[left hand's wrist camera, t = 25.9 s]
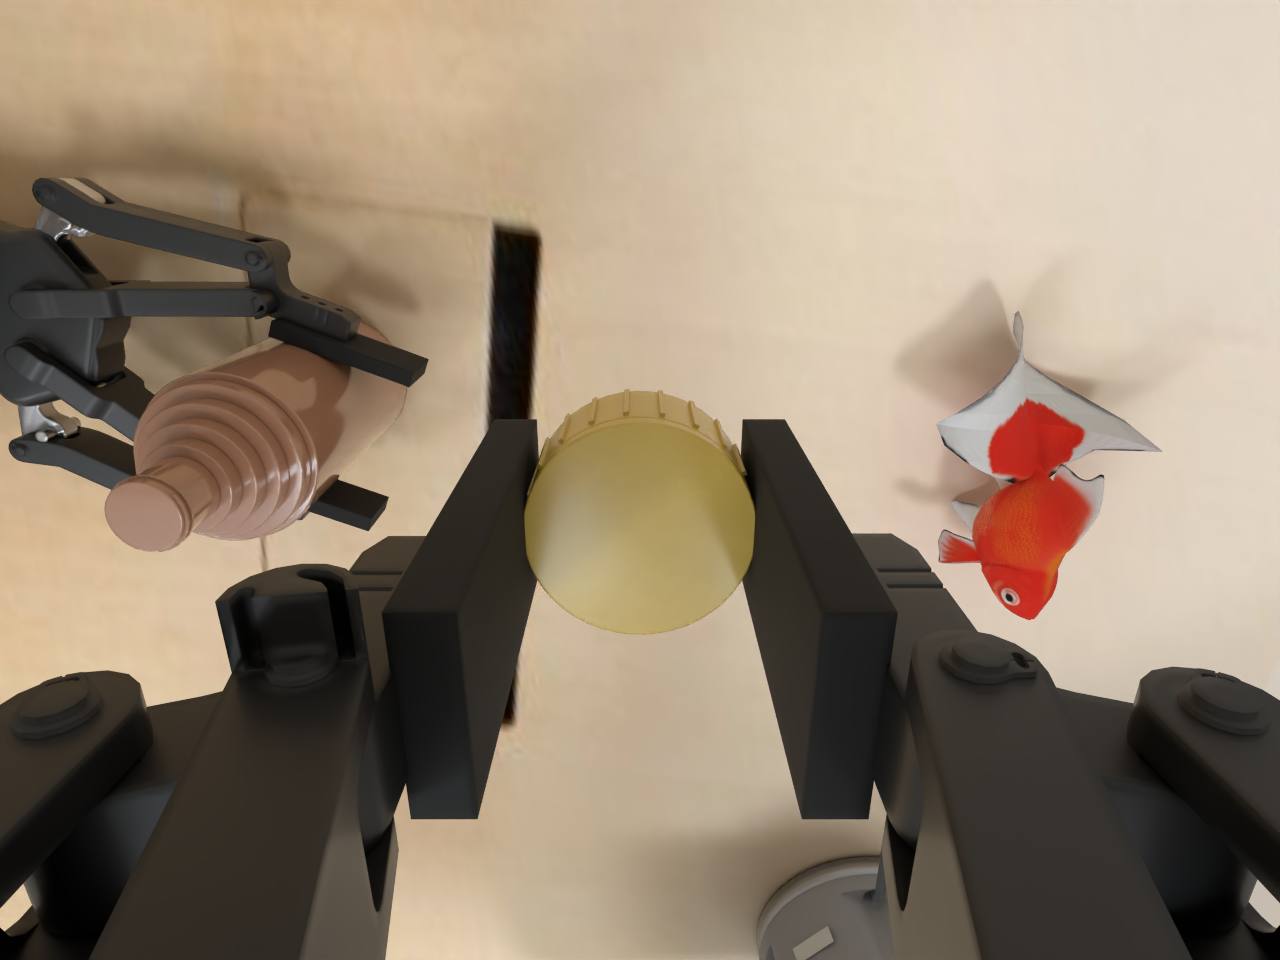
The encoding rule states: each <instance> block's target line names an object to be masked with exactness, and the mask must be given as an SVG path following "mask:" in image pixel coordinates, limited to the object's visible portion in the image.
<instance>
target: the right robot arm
mask: <svg viewBox="0 0 1280 960" xmlns="http://www.w3.org/2000/svg"><path fill="white" fill-rule="evenodd" d="M32 191H33V195H34V197H35V199H36V200H37V202H38V203H40V204H41V205H42V208H41V210H40V213H39V216H38V219H37V221H36V224H35V227H34V228H33V229H30V228H26V229H25V228H20V227H17V226H15V225H13V224H11V223H8V222H5V221H2V220H0V394H1V395H2V396H3V397H4V398H5V399H7V400H8V401H10V402H11V403H13V404H16V405H18V411H19V417H20V424H21V430H22V436H20V437H18V438H16V439H14V440H12V441H11V442H10V443H9V451H10V453H11V455H12V456H13V457H14V458H15V459H17V460H18V461H22V462H27V463H35V464H42V465H50V466H57V467H61V468H63V469H66V470H68V471H70V472H72V473H75V474H77V475H79V476H82V477H84V478H86V479H88V480H91V481H93V482H95V483H97V484H100V485H102V486H104V487H107V488H109V489H111V490H112V489H113V488H114V487H115V485H116V484H117V483H118V482H120V481H122V480H124V479H125V478H127V477H130V476H135V475H137V474H136V467H135V459H134V446H132V445H129V444H127V443H125V442H123V441H120V440H118V439H116V438H114V437H112V436H109V435H107V434H105V433H102V432H100V431H96V430H93V429H90V428H84V427H80V426H81V422H80V420H79V419H78V418H76V417H71V418H70V417H67V416H65V415H62V414H60V413H59V412H58V411H57V410H56V409H55V408H54V406H53V404H52V402H53V401H57V400H60V399H61V400H63V401H64V402H66V403H67V404H69V405H70V406H71V407H73V408H74V409H76V410H77V411H79V412H80V413H81V414H83V415H85V416H87V417H90V418H95V419H100V420H103V421H104V422H106V423H107V424H109V425H110V426H112V427H113V428H114V429H116V430H117V431H119V432H120V433H122V434H123V435H124V436H126V437H127V438H129V439H130V440H132V441H133V442H134V436H135V431H136V428H137V425H138V422H139V420H140V418H141V416H142V414H143V413H144V411H145V410H146V408H147V406H148V404H149V402H150V401H151V400H152V398H153V397H154V396H155V395H154V394H153V393H151V392H150V391H148V390H147V389H146V388H145V387H144V381H143V380H142V379H141V378H140V377H139V376H137V375H136V374H134V373H133V372H132V371H130V370H129V369H128V368H126V367H125V366H124V364H125V350H124V343H123V340H124V338H125V336H126V334H127V332H128V329H129V327H130V322H131V316H220V317H255V319H260V318H263V317H265V316H271V317H273V318H276V319H275V320H273V321H271V326H270V331H269V336H268V337H271V338H274V339H277V340H279V341H282V342H285V343H288V344H290V345H293V346H296V347H299V348H301V349H304V350H307V351H310V352H313V353H315V354H318V355H321V356H324V357H326V358H329V359H332V360H335V361H338V362H340V363H343V364H346V365H349V366H351V367H354V368H357V369H360V370H363V371H365V372H368V373H371V374H374V375H376V376H379V377H382V378H385V379H387V380H390V381H393V382H396V383H399V384H401V385H404V386H407V387H410V386H411V385H412V384H413V383H414V382H415V381H417V380H418V379H419V378H420V377H421V376H422V375H423V374H424V373H425V369H426V366H427V363H428V359H426V358H424V357H421V356H418V355H416V354H413V353H410V352H407V351H405V350H402V349H399V348H396V347H394V346H391V345H388V344H386V343H383V342H380V341H377V340H375V339H372V338H369V337H366V336H364V335H361V334H358V333H357V332H358V328H359V324H360V320H361V318H360V317H359V316H358V315H357V314H356V313H354V312H353V311H352V310H350V309H347V308H344V307H342V306H338V305H336V304H333V303H330V302H328V301H325V300H323V299H320V298H317V297H315V296H312V295H309V294H306V293H304V292H301V291H299V290H298V289H297V288H295V286H294V285H293V284H292V282H291V280H290V277H289V272H288V265H287V263H288V262H289V261H290V257H291V255H290V250H289V248H288V246H287V245H286V244H285V243H284V242H281V241H279V240H276V239H272V238H268V237H264V236H260V235H256V234H252V233H248V232H243V231H239V230H235V229H231V228H227V227H223V226H219V225H215V224H211V223H207V222H203V221H199V220H195V219H191V218H187V217H183V216H179V215H175V214H171V213H167V212H163V211H159V210H155V209H151V208H147V207H143V206H139V205H134V204H130V203H126V202H124V201H123V200H121V199H119V198H118V197H116V196H114V195H113V194H111V193H110V192H108V191H106V190H105V189H103V188H101V187H100V186H98V185H97V184H95V183H93V182H92V181H90V180H88V179H85V178H40V179H38V180H36V181H35V182H34V184H33V188H32ZM94 235H102V236H106V237H110V238H114V239H118V240H122V241H126V242H130V243H134V244H138V245H143V246H147V247H151V248H155V249H159V250H163V251H167V252H171V253H175V254H180V255H184V256H188V257H192V258H196V259H200V260H204V261H208V262H212V263H217V264H221V265H225V266H229V267H233V268H237V269H241V270H245V271H248V278H249V282H151V281H146V280H107V279H106V278H105V277H104V275H103V274H102V273H101V272H100V271H99V270H98V269H97V268H96V266H95V265H94V264H93V263H92V262H91V261H90V260H89V258H88V257H87V256H86V255H85V254H84V253H83V252H82V250H81V249H80V248H79V247H78V246H77V245H76V244H75V243H74V241H73V240H72V239H71V237H72V236H76V237H85V236H94ZM104 385H105V386H104ZM388 498H389V497H387V496H384V495H381V494H378V493H375V492H373V491H370V490H367V489H364V488H361V487H358V486H355V485H352V484H349V483H346V482H343V481H340V480H336V481H335V482H334V483H333V484H332V485H331V486H330V487H329V488H328V489H327V490H326V491H325V492H324V493H323V494H322V496H321V497H320V498H319V499H318V500H317V501H316V502H315V503H314V504H313V505H312V506H311V507H310V508H309V509H308V510H307V511H306V512H305V513H304V514H303V515H302V516H301V517H300V518H299V519H297V520H302V519H303V518H304V517H305V516H306V515H307V514H308V513H309V512H312V513H315V514H318V515H321V516H324V517H327V518H330V519H333V520H336V521H339V522H342V523H345V524H348V525H351V526H354V527H357V528H360V529H363V530H366V531H369V530H370V528H371V527H372V526H373V525H374V523H375V522H376V521H377V519H378V518H379V517H380V515H381V514H382V513H383V511H384V510H385V508H386V505H387V501H388Z"/></svg>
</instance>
